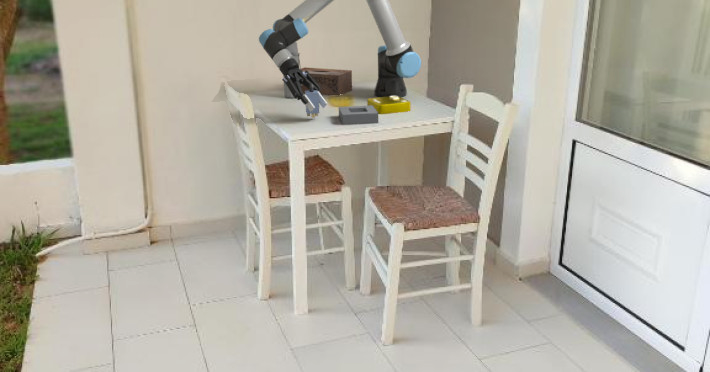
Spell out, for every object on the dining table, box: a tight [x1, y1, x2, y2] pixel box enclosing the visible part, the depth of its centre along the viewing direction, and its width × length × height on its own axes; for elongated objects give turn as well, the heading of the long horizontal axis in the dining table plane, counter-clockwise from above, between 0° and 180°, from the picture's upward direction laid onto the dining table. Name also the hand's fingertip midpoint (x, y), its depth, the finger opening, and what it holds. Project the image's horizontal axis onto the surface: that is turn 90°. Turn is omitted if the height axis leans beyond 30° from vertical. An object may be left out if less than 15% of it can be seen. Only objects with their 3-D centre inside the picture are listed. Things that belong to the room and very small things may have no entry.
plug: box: [304, 84, 320, 119], centre depth 263 cm, size 5×5×13 cm
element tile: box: [366, 96, 412, 115], centre depth 281 cm, size 15×15×5 cm
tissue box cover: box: [299, 67, 353, 96], centre depth 318 cm, size 26×14×10 cm, turn 65°
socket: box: [338, 105, 379, 126], centre depth 264 cm, size 14×14×4 cm
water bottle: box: [282, 41, 303, 99], centre depth 305 cm, size 9×8×25 cm
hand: (319, 107), depth 262 cm, fingers closed on plug, 7 cm apart
